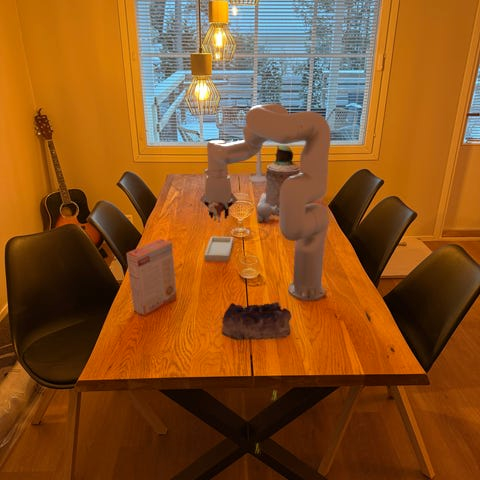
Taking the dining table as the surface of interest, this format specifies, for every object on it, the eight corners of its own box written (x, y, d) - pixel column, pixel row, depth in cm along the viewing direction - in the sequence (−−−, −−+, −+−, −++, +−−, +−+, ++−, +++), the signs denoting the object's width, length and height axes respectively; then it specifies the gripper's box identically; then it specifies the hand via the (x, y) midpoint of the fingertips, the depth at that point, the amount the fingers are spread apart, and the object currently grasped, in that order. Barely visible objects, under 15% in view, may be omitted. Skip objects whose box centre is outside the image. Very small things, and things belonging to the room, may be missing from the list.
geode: (224, 348, 124) (221, 316, 121) (220, 329, 135) (218, 299, 132) (294, 339, 126) (294, 307, 123) (285, 321, 137) (284, 292, 134)
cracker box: (165, 293, 151) (160, 237, 143) (177, 299, 148) (173, 242, 139) (132, 310, 141) (125, 251, 133) (144, 317, 138) (138, 257, 129)
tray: (228, 261, 174) (228, 255, 173) (204, 260, 174) (204, 255, 173) (233, 242, 191) (233, 237, 190) (211, 241, 191) (211, 236, 190)
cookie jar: (304, 212, 226) (307, 150, 213) (256, 210, 229) (257, 149, 216) (305, 197, 248) (308, 140, 235) (261, 196, 251) (262, 139, 239)
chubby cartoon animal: (282, 223, 211) (283, 206, 208) (256, 223, 212) (256, 206, 208) (281, 218, 218) (282, 201, 215) (256, 218, 219) (256, 201, 215)
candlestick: (259, 176, 291) (260, 130, 279) (272, 180, 282) (274, 132, 270) (244, 179, 283) (244, 132, 271) (258, 183, 274) (258, 135, 262)
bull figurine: (205, 224, 172) (205, 204, 169) (220, 213, 183) (220, 194, 180) (216, 225, 170) (215, 205, 167) (230, 214, 182) (230, 195, 178)
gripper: (194, 175, 167) (196, 220, 174) (239, 175, 165) (239, 221, 172) (197, 170, 173) (199, 213, 181) (240, 170, 172) (240, 214, 179)
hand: (219, 216), depth 176 cm, fingers closed on bull figurine, 5 cm apart
